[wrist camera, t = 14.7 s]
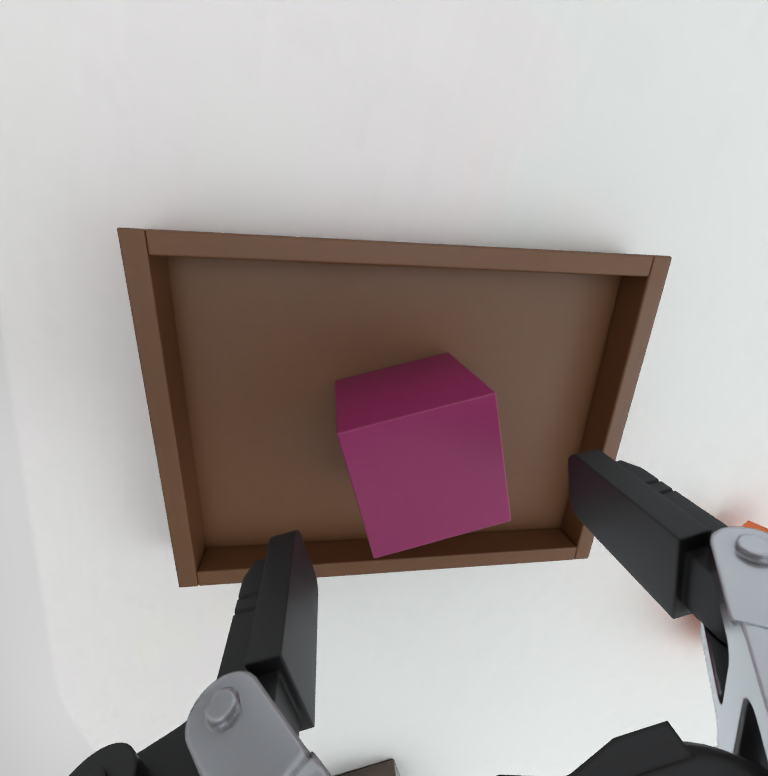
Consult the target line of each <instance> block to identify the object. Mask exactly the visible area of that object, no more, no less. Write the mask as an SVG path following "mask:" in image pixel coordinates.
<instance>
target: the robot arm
mask: <svg viewBox="0 0 768 776" xmlns="http://www.w3.org/2000/svg"><path fill="white" fill-rule="evenodd" d="M568 476H569V495H570V502H571V506H572V508H573V511H574V513H575V514H576V516H577V517H578V519H579V520H580V521H581V522H582V523H583V524H584V525H585V526H586V528H587V529H588V530H589V531H590V532H591V533H592V534H593V535H594V536H595V537H596V538H597V539H598V540H599V541H600V542H601V543H602V544H603V545H604V546H605V548H606V549H607V550H608V551H609V552H610V553H611V554H612V555H613V556H614V557H615V558H616V559H617V560H618V561H619V562H620V563H621V564H622V565H623V566H624V568H625V569H626V570H627V571H628V572H629V573H630V574H631V575H632V576H633V577H634V578H635V579H636V580H637V581H638V582H639V583H640V584H641V585H642V586H643V588H644V589H645V590H646V591H647V592H648V593H649V594H650V595H651V596H652V597H653V598H654V599H655V600H656V601H657V602H658V603H659V604H660V605H661V607H662V608H663V609H664V610H665V611H666V612H667V613H668V614H669V615H670V616H671V617H672V618H673V619H675V618H679V617H682V616H685V615H688V614H692V613H693V614H694V615H695V616H696V617H697V618H698V619H699V620H700V621H701V626H700V633H701V638H702V643H703V649H704V654H705V659H706V665H707V670H708V675H709V681H710V686H711V691H712V697H713V702H714V707H715V713H716V721H717V744H718V748H715V747H712V746H708V745H705V744H699V743H693V742H683V741H682V740H681V739H680V737H679V736H678V734H677V733H676V732H675V730H674V729H673V728H672V726H671V725H670V723H669V722H668V721H665V722H662V723H659V724H656V725H653V726H650V727H646V728H643V729H640V730H637V731H634V732H631V733H628V734H625V735H622V736H619V737H615V738H613V739H612V740H611V741H610V742H608V743H607V744H606V745H605V746H604V747H602V748H601V749H600V750H599V751H598V752H596V753H595V754H594V755H593V756H592V757H590V758H589V759H588V760H587V761H585V762H584V763H583V764H582V765H581V766H579V767H578V768H577V769H576V770H575V771H573V772H572V773H571V774H569V775H567V776H768V533H766V532H764V531H760V530H757V529H753V528H747V527H728V526H726V525H725V524H723V523H722V522H720V521H719V520H718V519H716V518H715V517H713V516H712V515H710V514H709V513H707V512H706V511H704V510H703V509H701V508H700V507H698V506H697V505H695V504H694V503H692V502H691V501H690V500H688V499H687V498H685V497H684V496H682V495H681V494H679V493H678V492H676V491H673V490H672V488H670V487H669V486H667V485H666V484H665V483H663V482H662V481H661V482H659V481H658V479H657V478H656V477H654V476H653V475H651V474H650V473H648V472H647V471H645V470H644V469H642V468H640V467H638V466H635V465H632V464H629V463H627V462H624V461H621V460H620V461H617V462H616V461H615V460H613V459H612V458H610V457H609V456H608V455H606V454H605V453H604V452H602V451H601V450H599V449H592V450H588V451H584V452H581V453H577V454H573V455H570V456H569V458H568ZM238 597H239V600H237V604H236V608H235V615H234V616H233V620H232V623H231V627H230V631H229V635H228V639H227V643H226V646H225V650H224V654H223V658H222V662H221V666H220V670H219V673H218V677H217V680H216V681H214V682H213V683H212V684H211V685H210V686H209V687H208V688H207V689H206V690H205V691H204V692H203V693H202V694H201V695H200V697H199V698H198V699H197V701H196V702H195V704H194V706H193V708H192V710H191V711H190V714H189V716H188V719H187V721H186V722H185V723H184V724H182V725H181V726H179V727H178V728H176V729H175V730H173V731H172V732H170V733H169V734H167V735H166V736H164V737H162V738H161V739H159V740H158V741H156V742H155V743H153V744H151V745H150V746H148V747H147V748H145V749H144V750H142V751H140V752H139V753H136V752H135V751H134V749H133V748H132V747H131V746H130V745H128V744H126V743H115V744H111V745H108V746H106V747H104V748H102V749H100V750H98V751H97V752H95V753H94V754H92V755H91V756H90V757H88V758H87V759H86V760H85V761H83V762H82V763H81V764H80V765H79V766H78V767H77V768H76V769H75V770H74V771H73V772H72V773H71V774H70V775H69V776H331V775H330V773H329V772H328V771H327V769H326V768H325V766H324V765H323V764H322V762H321V761H320V760H319V758H318V757H317V756H316V755H315V754H314V753H313V752H311V753H310V752H309V750H308V749H307V748H306V747H305V745H304V744H303V742H302V741H301V740H300V738H299V731H302V730H306V729H309V728H312V727H314V722H315V686H316V649H317V613H318V586H317V579H316V575H315V571H314V568H313V565H312V563H311V560H310V557H309V555H308V552H307V549H306V546H305V544H304V541H303V538H302V536H301V533H300V532H299V530H294V531H290V532H287V533H283V534H279V535H276V536H272V537H271V538H270V540H269V545H268V550H267V555H266V558H264V559H261V560H257V561H254V563H253V564H252V566H251V567H250V569H249V570H248V572H247V574H246V575H245V577H244V578H243V581H242V585H241V589H240V593H239V596H238ZM497 776H519V775H497Z"/></svg>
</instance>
